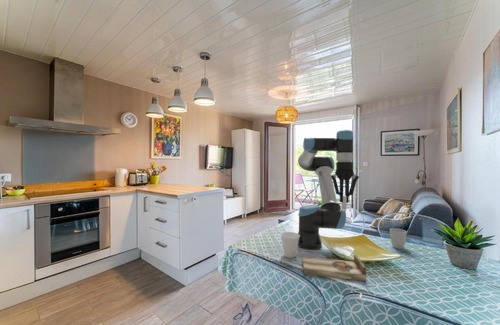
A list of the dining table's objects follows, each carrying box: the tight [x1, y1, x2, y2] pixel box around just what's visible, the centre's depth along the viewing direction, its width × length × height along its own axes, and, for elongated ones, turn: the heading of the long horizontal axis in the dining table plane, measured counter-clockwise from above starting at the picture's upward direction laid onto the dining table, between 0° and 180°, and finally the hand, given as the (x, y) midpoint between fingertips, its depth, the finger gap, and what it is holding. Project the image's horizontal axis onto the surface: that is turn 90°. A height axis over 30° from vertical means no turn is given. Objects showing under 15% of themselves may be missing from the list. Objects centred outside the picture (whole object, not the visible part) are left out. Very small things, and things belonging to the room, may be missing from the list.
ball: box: [337, 263, 346, 269], centre depth 94 cm, size 4×4×4 cm
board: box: [301, 254, 367, 282], centre depth 94 cm, size 12×25×6 cm, turn 79°
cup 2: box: [389, 227, 407, 250], centre depth 123 cm, size 8×8×10 cm
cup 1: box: [280, 231, 300, 259], centre depth 109 cm, size 10×10×11 cm
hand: (344, 209), depth 102 cm, fingers closed
